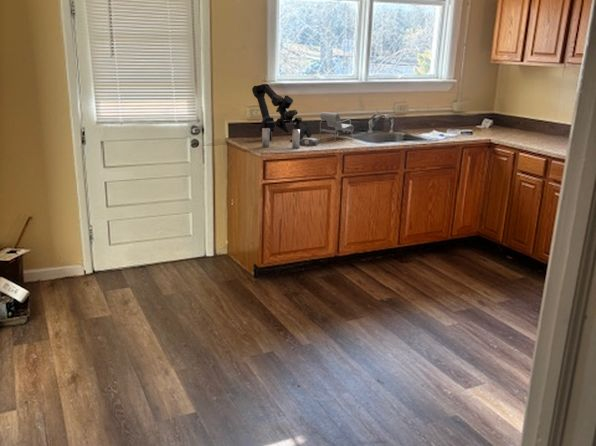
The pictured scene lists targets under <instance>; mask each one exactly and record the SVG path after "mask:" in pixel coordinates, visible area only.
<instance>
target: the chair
mask: <svg viewBox="0 0 596 446" xmlns="http://www.w3.org/2000/svg"><path fill="white" fill-rule="evenodd" d="M325 121H326V125H327V127H330V128H334V130H332V129H325V128H321V126H322V122H325ZM346 121H349V123H343V122H346ZM351 122H352V120H351V118H348V119H345V120H342V119H341V115H340V114H339V113H334V112H327V111H322V112H321V113H320V123H319V133H321V132H324V133H330V134H331V133H332V134H334V142H335V143H337V142H336V141H337V140H336V138H337V137H338V136H339V130H340V131H346V132H350V133H351V138H350V140H352V139H353V138H354V134H353V131H354V129H355V127H354V125H353V124H352V123H351ZM336 133H337V134H336ZM336 136H337V137H336ZM324 138H325V137H324ZM324 138H321V137H319V139H322V140H325V139H324ZM347 139H348V138H347ZM347 139H344V141H348V140H347ZM341 140H342V139H341ZM341 140H339V142H342V141H341Z"/></svg>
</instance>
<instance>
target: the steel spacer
mask: <svg viewBox="0 0 596 446" xmlns="http://www.w3.org/2000/svg"><path fill="white" fill-rule="evenodd" d="M300 129H301V128H300ZM300 129H296V128H293V129H292V133H291V134H292V137H291V139H292V140H291V149H294V150H296V149H297V150H298V149H300Z"/></svg>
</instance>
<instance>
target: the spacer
mask: <svg viewBox="0 0 596 446" xmlns="http://www.w3.org/2000/svg"><path fill="white" fill-rule="evenodd" d="M269 137H270V128H262V132H261V139H262V140H261V147H262V148H264V149H265V148H268V149H269V148H270V141H269Z"/></svg>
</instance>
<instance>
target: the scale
mask: <svg viewBox="0 0 596 446" xmlns="http://www.w3.org/2000/svg"><path fill="white" fill-rule="evenodd" d="M319 143H320V144H321V140H320V138H316V137H310V138H307V137H303V138H302V139H301V140H300V145H301V146H307V147H308V146H309V147H312V146H313V147H314V146H319ZM300 145H299V146H300Z"/></svg>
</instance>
